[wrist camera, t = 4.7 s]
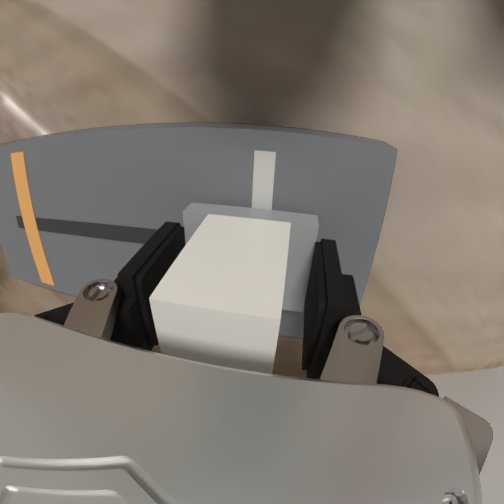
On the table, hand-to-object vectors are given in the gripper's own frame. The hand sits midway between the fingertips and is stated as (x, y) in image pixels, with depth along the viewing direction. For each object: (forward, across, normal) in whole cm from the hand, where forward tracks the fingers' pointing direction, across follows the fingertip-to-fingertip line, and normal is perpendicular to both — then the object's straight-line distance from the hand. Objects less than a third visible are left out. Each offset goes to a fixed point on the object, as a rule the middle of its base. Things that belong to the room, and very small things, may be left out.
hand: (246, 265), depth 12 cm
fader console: (+3, +7, 0) cm, 8 cm away
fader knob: (+1, 0, 0) cm, 1 cm away
